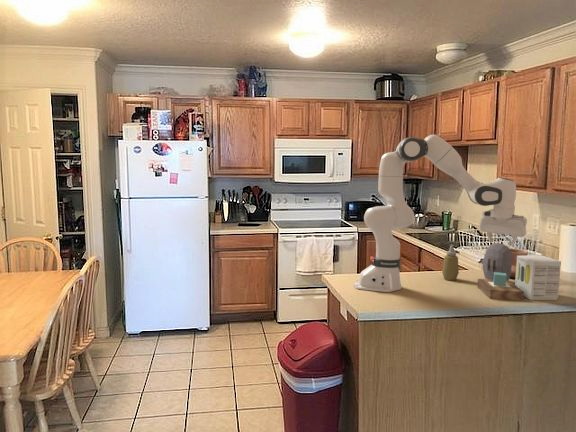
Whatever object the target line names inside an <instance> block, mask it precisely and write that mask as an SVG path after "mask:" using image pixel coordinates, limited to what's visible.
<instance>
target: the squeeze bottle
mask: <svg viewBox="0 0 576 432" xmlns="http://www.w3.org/2000/svg"><path fill="white" fill-rule="evenodd" d="M454 248H455V247H454V244H450V246H449V248H448V249H449V250H447V251H446V255H444V259H443V263H442V264H443V265H442V269H441V272H442V276H443V279H444V280H446V281H455V280H457V278H458V276H459V273H460V272H459V271H460V269H459V256H457V252H456V251H455V249H454Z"/></svg>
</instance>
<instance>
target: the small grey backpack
mask: <svg viewBox="0 0 576 432" xmlns="http://www.w3.org/2000/svg"><path fill="white" fill-rule="evenodd" d="M511 268H512V252H511V250H510V249H509V246H507V245H505V244H503V243H501V242H492V243H491V244H490V245H489V246H488V247H486V251H485V253H484V257H483V261H482V272H483V275H484V279H494V272H498V273H506V275H507V277H506V280H509V281H510V279H511V277H510V276H511Z"/></svg>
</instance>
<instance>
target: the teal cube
mask: <svg viewBox="0 0 576 432" xmlns="http://www.w3.org/2000/svg"><path fill="white" fill-rule="evenodd" d="M506 277H507V275H506V273H498V272H494V280H493V283H494V285H498V286H506Z"/></svg>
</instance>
